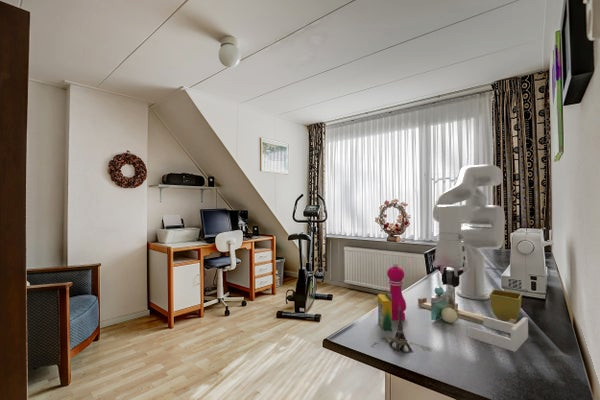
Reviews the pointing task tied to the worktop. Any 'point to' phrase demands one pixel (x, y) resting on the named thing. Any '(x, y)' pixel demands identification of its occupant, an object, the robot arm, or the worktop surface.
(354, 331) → the worktop surface
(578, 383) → the worktop surface
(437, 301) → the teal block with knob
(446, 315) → the ball
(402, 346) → the eiffel tower figurine
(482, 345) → the worktop surface
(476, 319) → the oak rail
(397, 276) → the pepper mill
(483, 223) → the robot arm
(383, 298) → the crayon box
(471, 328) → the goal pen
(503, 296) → the flower pot
